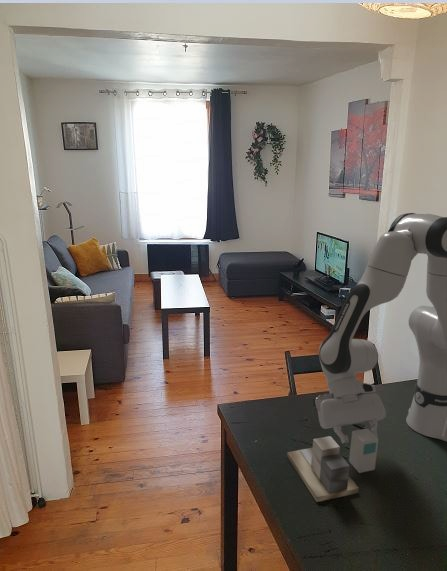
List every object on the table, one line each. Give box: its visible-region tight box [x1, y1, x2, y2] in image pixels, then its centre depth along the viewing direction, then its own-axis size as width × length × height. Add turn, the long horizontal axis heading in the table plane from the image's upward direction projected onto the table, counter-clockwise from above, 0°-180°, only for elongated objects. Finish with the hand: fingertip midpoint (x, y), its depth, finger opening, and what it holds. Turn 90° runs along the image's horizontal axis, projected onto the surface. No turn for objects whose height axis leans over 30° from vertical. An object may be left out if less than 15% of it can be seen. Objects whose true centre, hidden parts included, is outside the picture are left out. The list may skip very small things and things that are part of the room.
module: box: [348, 428, 379, 474], centre depth 118 cm, size 5×5×10 cm
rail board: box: [286, 435, 360, 503], centre depth 114 cm, size 12×18×11 cm, turn 16°
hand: (360, 440), depth 119 cm, fingers open, 8 cm apart
